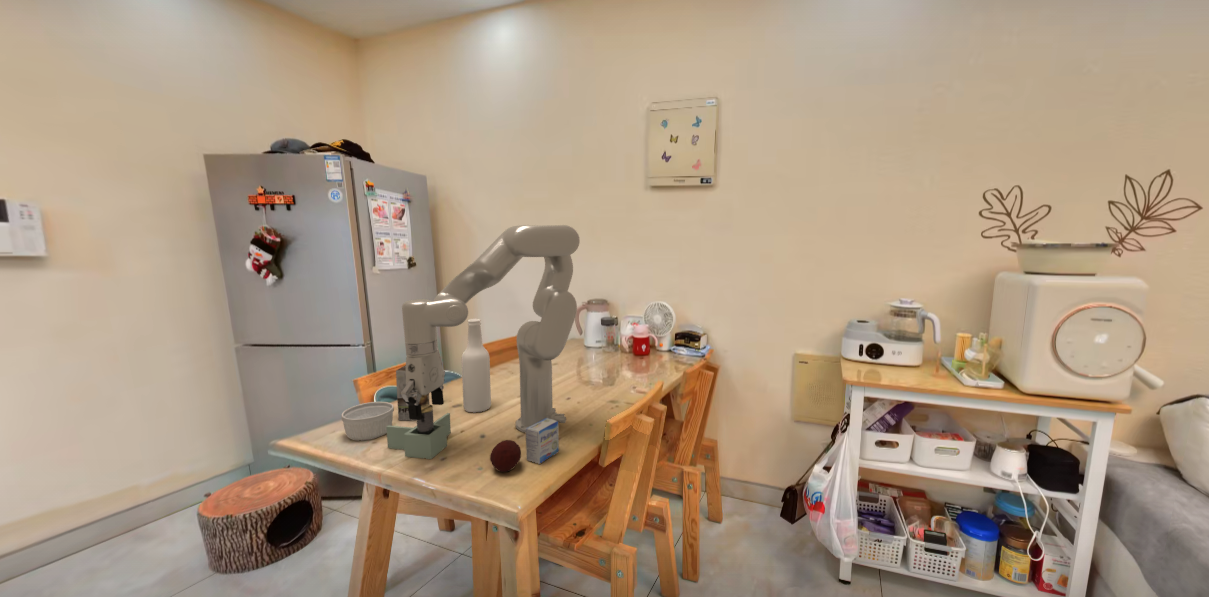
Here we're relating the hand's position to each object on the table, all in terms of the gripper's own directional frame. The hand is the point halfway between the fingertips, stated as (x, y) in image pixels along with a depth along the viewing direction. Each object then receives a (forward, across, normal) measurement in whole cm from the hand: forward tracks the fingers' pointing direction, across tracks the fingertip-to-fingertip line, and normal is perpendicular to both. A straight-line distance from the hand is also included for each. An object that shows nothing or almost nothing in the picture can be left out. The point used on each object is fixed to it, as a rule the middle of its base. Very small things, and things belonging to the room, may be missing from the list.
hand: (427, 411), depth 112 cm
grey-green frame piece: (+11, +3, +5) cm, 12 cm away
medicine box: (+12, +2, -30) cm, 32 cm away
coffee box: (+11, +20, +19) cm, 30 cm away
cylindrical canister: (+11, -1, +1) cm, 11 cm away
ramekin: (+11, +6, +24) cm, 27 cm away
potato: (+11, -4, -23) cm, 26 cm away
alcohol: (+12, +30, +2) cm, 32 cm away
